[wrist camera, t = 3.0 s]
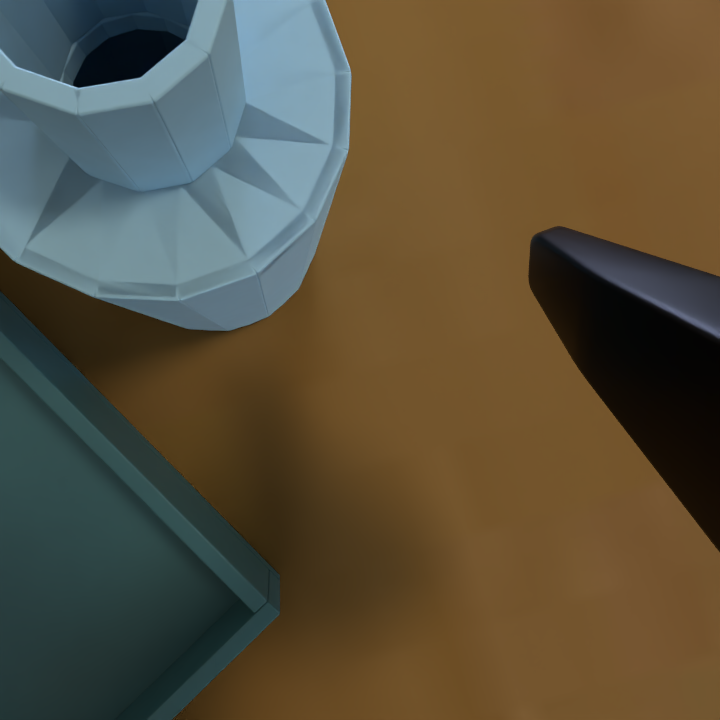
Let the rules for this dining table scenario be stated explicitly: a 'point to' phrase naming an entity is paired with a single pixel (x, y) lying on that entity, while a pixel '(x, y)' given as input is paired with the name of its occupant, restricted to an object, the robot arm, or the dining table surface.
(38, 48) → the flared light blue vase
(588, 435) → the dining table surface
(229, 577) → the teal open tray
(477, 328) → the dining table surface
